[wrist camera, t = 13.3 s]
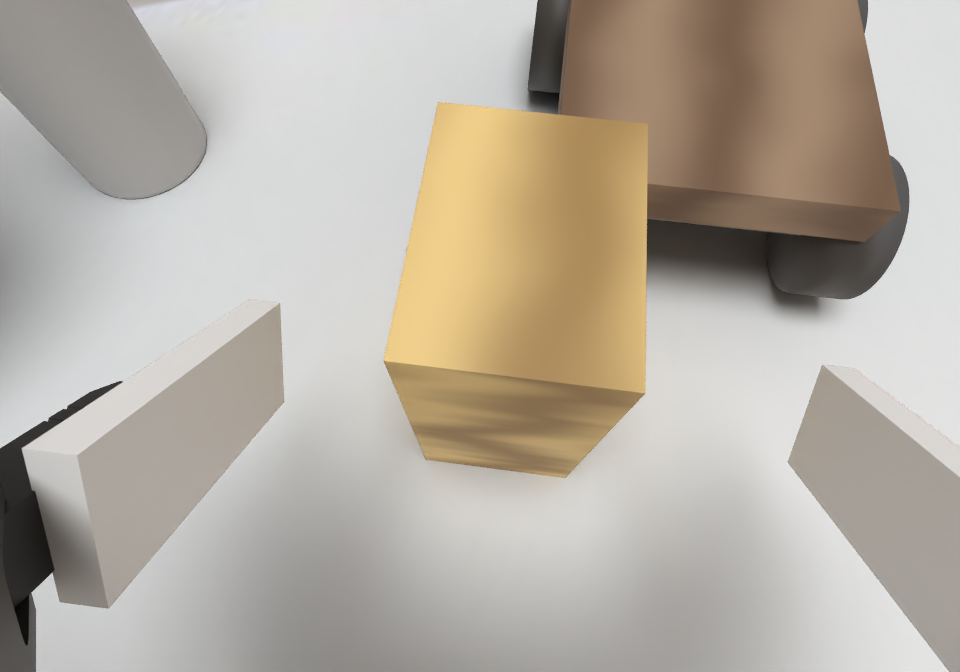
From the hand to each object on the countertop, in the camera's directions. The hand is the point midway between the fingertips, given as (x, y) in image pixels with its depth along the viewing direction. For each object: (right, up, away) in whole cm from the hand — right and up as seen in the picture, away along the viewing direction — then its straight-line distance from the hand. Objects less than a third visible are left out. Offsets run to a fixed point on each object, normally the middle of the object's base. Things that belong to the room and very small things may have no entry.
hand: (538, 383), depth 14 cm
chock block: (0, -1, +12) cm, 12 cm away
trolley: (+8, +11, +17) cm, 21 cm away
